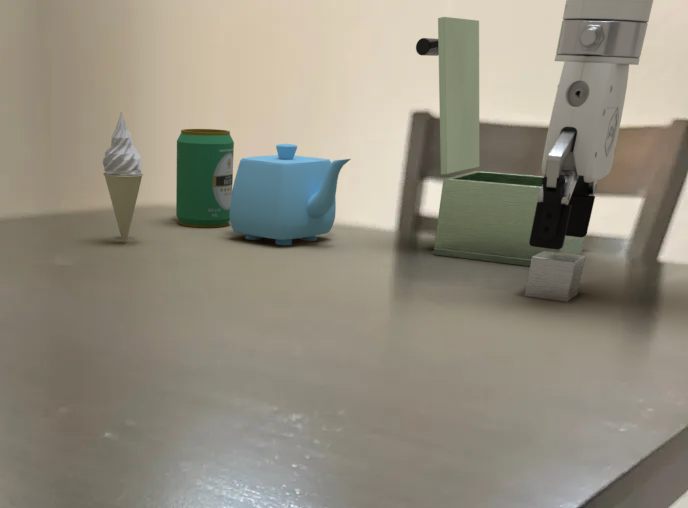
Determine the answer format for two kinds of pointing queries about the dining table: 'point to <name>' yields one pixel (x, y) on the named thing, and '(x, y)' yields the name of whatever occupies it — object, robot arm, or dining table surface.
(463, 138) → the lid
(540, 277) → the block
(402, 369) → the dining table surface
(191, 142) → the beverage can
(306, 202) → the teapot
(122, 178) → the ice cream cone
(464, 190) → the green open box
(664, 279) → the dining table surface
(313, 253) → the dining table surface
